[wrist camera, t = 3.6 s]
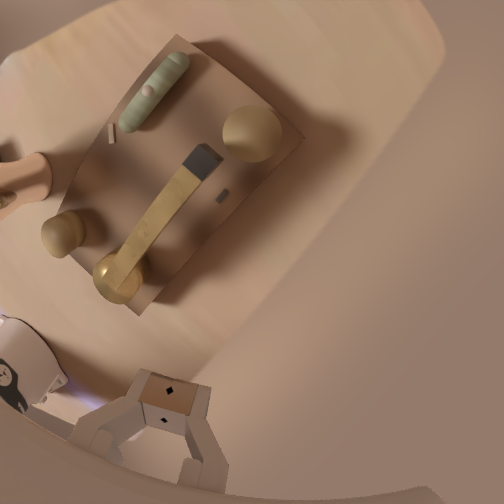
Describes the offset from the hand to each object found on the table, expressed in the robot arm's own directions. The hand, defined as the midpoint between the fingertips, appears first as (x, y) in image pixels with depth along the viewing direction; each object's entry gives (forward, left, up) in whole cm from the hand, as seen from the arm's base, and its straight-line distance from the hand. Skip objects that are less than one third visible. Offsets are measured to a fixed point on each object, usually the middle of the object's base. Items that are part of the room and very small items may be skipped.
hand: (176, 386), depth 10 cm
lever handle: (-2, +6, -15) cm, 16 cm away
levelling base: (-1, +9, -18) cm, 20 cm away
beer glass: (-11, +23, -19) cm, 31 cm away
